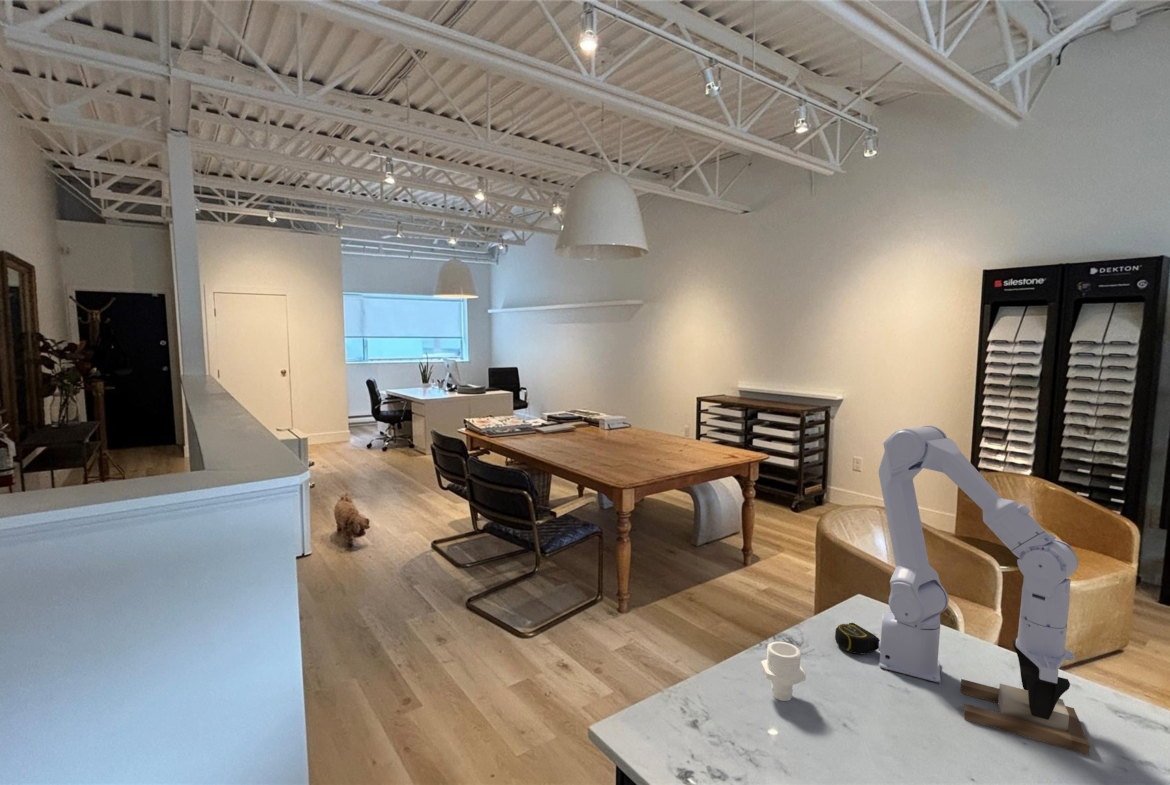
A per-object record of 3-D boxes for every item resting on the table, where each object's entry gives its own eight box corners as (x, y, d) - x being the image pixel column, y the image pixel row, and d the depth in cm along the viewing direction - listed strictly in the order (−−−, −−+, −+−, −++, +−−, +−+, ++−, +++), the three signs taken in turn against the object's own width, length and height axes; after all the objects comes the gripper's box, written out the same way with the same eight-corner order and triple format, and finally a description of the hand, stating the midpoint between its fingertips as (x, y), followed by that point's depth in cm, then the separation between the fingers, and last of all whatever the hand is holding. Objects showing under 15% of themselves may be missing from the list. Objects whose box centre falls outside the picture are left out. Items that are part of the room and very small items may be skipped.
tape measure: (881, 655, 108) (882, 636, 108) (853, 660, 106) (854, 641, 106) (853, 637, 115) (855, 619, 115) (826, 642, 113) (827, 624, 112)
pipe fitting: (751, 690, 96) (753, 645, 95) (782, 679, 99) (784, 635, 99) (780, 712, 90) (782, 664, 90) (812, 700, 94) (814, 653, 93)
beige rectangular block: (1001, 721, 89) (1003, 697, 89) (997, 706, 93) (999, 683, 93) (1066, 740, 85) (1069, 715, 85) (1060, 723, 89) (1062, 699, 89)
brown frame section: (964, 719, 90) (965, 710, 89) (960, 687, 98) (961, 678, 98) (1089, 755, 82) (1090, 745, 82) (1072, 716, 91) (1073, 708, 90)
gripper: (1089, 647, 79) (1079, 739, 81) (1065, 607, 92) (1058, 687, 93) (1025, 633, 83) (1017, 722, 84) (1011, 597, 96) (1005, 674, 97)
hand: (1035, 703), depth 89 cm, fingers open, 7 cm apart
